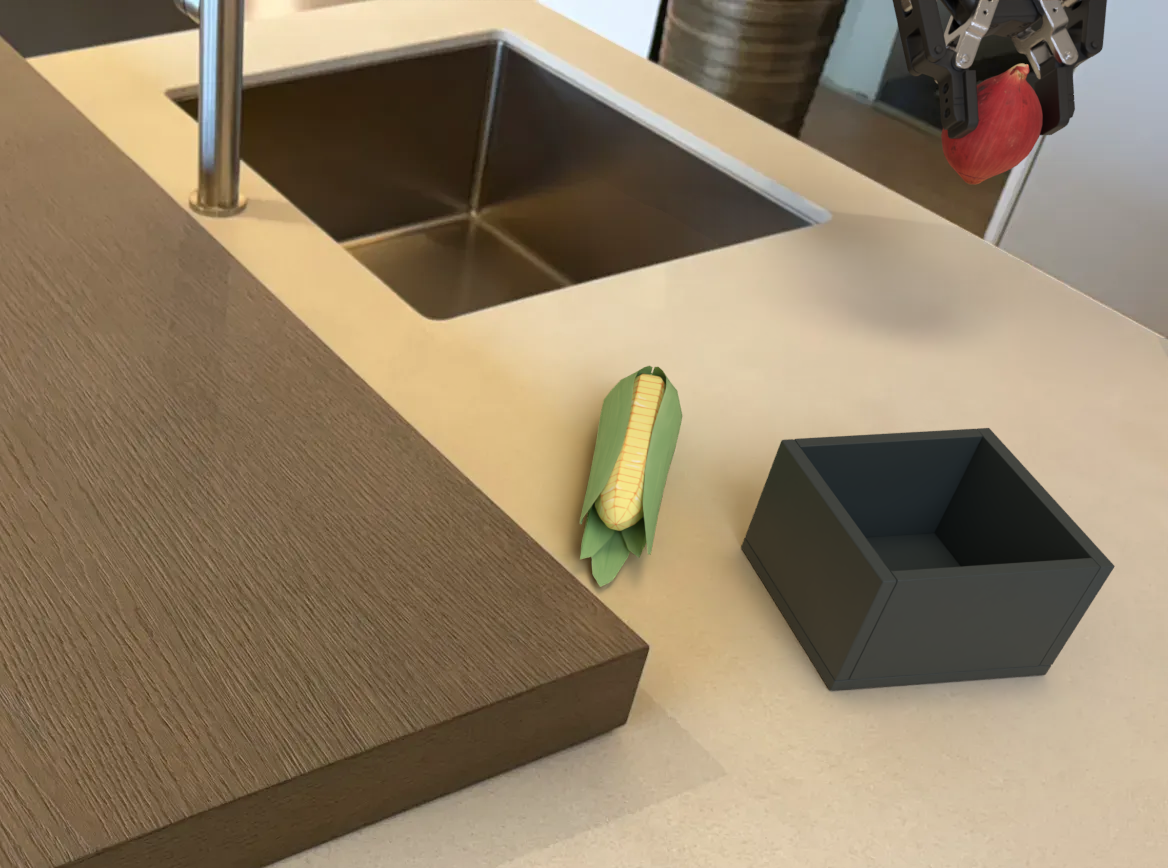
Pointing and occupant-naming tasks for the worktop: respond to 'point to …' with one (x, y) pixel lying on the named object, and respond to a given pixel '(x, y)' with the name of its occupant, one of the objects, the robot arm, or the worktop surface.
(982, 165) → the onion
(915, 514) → the trash bin
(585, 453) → the worktop surface
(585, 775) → the worktop surface
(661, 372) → the edible corn
